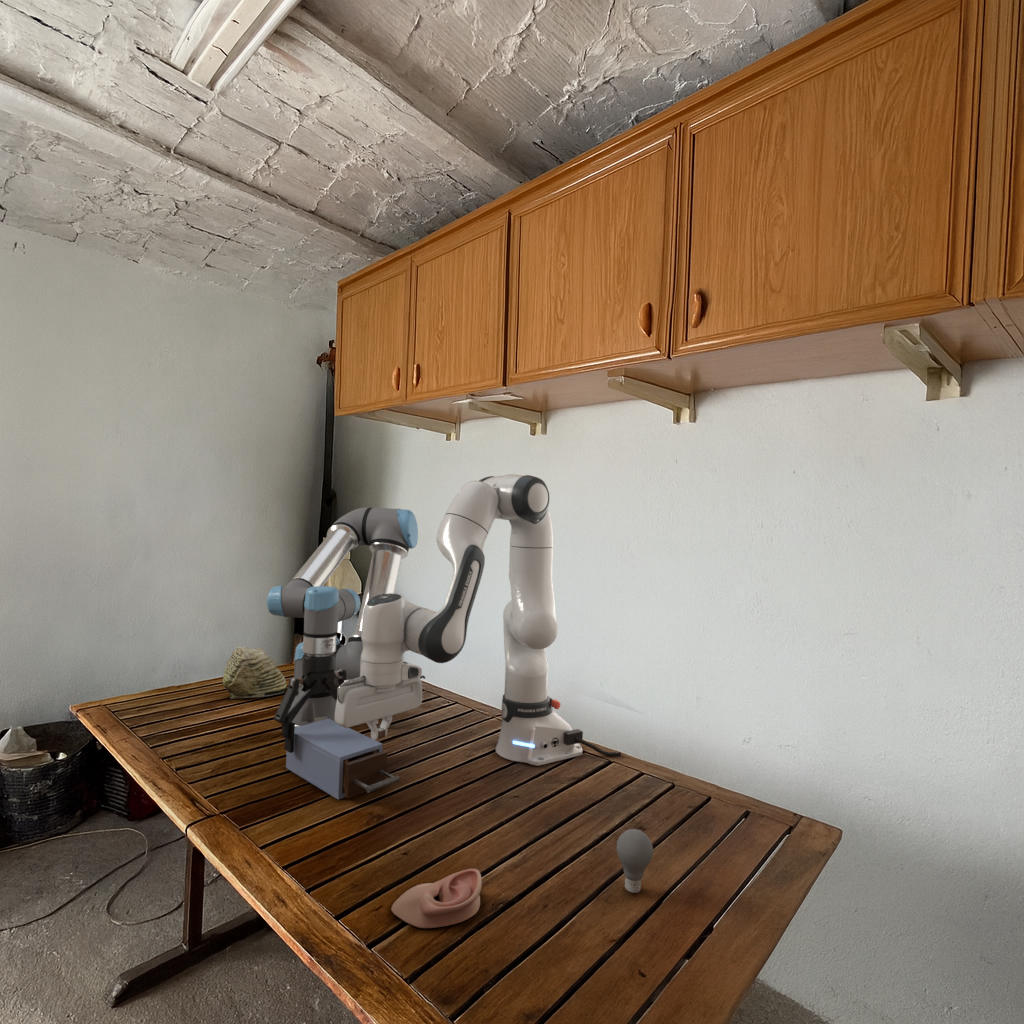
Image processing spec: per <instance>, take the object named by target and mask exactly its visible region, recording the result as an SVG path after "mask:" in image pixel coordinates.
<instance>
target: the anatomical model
mask: <svg viewBox="0 0 1024 1024" xmlns="http://www.w3.org/2000/svg"><path fill="white" fill-rule="evenodd" d="M482 879H483V878H482V874H481V871H480V870H478V869H477V868H467V869H463V870H460V871H457V872H454V873H452V874H449V875H446V876H445V877H443V878H441V879H439V880H437V881H434V882H426V883H420V884H417V885H414V886H413V887H411V888H409V889H408V890H406V891H404V893H402V894H401V895H399V897H398V898H397V899H396V900H395V901H394V902H393V904H392V906H391V912H392V914H393V915H395V917H397V918H399V919H400V920H402V921H403V922H404V923H407V924H409V925H411V926H413V927H415V928H418V929H432V928H433V929H435V928H440V927H441V928H442V927H447V926H452V925H457V924H459V923H462V922H464V921H466V920H469V919H470V918H472V917H473V916H474V915H476V914H477V913H478V911H480V910H479V909H480V907H481V896H480V895H481V891H482V886H483V880H482Z"/></svg>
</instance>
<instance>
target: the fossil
mask: <svg viewBox="0 0 1024 1024" xmlns="http://www.w3.org/2000/svg"><path fill="white" fill-rule="evenodd" d="M222 676H223V677H222V685H223V687H224V688H225V690H226V691H228V693H229V698H230V699H250V698H264V697H271V696H275V695H281V694H284V693H285V692H286V691H287V688H288V685H287V680H286V678H285V676H284V674H283V673H282V672H281V669H279V668H278V667H277V665H276V663H275V662H274V660H273V659H272V658H271V657H270V656H269V655H268V654H267V653H266V652H265V650H264V649H263V648H260V647H258V648H251V647H247V646H246V647H245V646H238V647H237V648H236V649H235V650H233V651H232V653H231V656H230V657H229V659H228V660H227V663H226V666H225V668H224V671H223V675H222Z"/></svg>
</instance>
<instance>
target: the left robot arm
mask: <svg viewBox="0 0 1024 1024" xmlns="http://www.w3.org/2000/svg"><path fill="white" fill-rule="evenodd" d="M418 540H419V529H418V521H417V518H416V515H415V513H414V512H413V511H412V510H410V509H403V508H384V507H368V506H367V507H359V508H355V509H353V510H351V511H349V512H347V513H345V514H344V515H342V516H340V517H339V518H338V519H337V520H336V521H335V522H334V523H333V524H331V526H330V527H329V528H328V530H327V532H326V537H325V539H324V540H323V541H322V542H321V544H319V546H318V547H317V548H316V549H315V550H314V552H313V553H312V554H311V556H309V558H308V559H307V561H306V562H305V563H304V564H303V565H302V567H300V569H299V570H298V572H297V573H296V574H295V575H294V577H293V578H292V579H291V580H290V581H289V582H288V583H287V585H276V586H273V587H272V588H271V589H270V590H269V592H268V594H267V597H266V606H267V610H268V612H269V613H270V614H271V615H272V616H277V617H283V618H296V619H298V618H299V619H301V618H302V619H303V640H302V642H299V643H298V644H297V645H296V647H295V652H294V653H295V654H294V659H293V661H294V672H293V676H291V677H290V678H289V679H288V683H287V684H288V685H287V688H286V690H285V692H284V695H283V697H282V700H281V701H280V704H279V706H278V708H277V710H276V712H275V715H274V717H273V720H274V721H276V722H277V723H279V724H281V736H282V738H284V750H285V751H286V752H287V751H288V752H290V753H292V752H294V730H295V727H299V726H303V725H307V724H310V723H314V722H318V721H322V720H326V719H331V720H333V721H335V719H334V717H335V708H336V702H337V694H338V688H339V687H340V685H341V684H342V683H344V681H345V680H347V679H354V678H357V677H360V658H361V654H362V650H363V643H362V639H361V632H362V620H363V613H364V608H365V605H366V603H367V601H368V600H369V599H371V598H372V597H374V596H377V595H381V594H389V593H393V594H396V588H397V584H398V580H399V574H400V570H401V564H402V560H403V559H405V558H407V557H408V556H409V550H412V549H415V548H416V547H417V544H418ZM360 546H367V547H368V550H369V551H370V552H371V554H372V556H371V560H370V565H369V569H368V574H367V578H366V583H365V587H364V590H363V591H364V592H363V596H362V601H361V598H360V595H359V594H358V592H356V591H355V590H354V589H351V588H340V589H338V588H337V587H335V586H329V585H326V583H327V582H328V580H329V579H330V578H331V576H332V575H333V573H334V572H335V571H336V569H337V568H338V567H339V565H341V564H342V562H343V560H344V559H345V558H346V556H347V555H348V553H351V552H353V551H355V550H356V548H357V547H360ZM358 612H359V614H358V618H357V624H356V627H355V632H354V633H353V634H351V635H350V636H348V638H347V643H346V644H340V643H341V641H340V639H339V638H338V636H337V635H338V623H340V622H342V621H346V620H349V619H351V618H352V617H354V616H355V615H356V614H357V613H358ZM419 678H420V679H421V680H422V679H423V680H424V679H426V676H425V675H422V674H421V676H420V677H419ZM343 686H344V685H343Z"/></svg>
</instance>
